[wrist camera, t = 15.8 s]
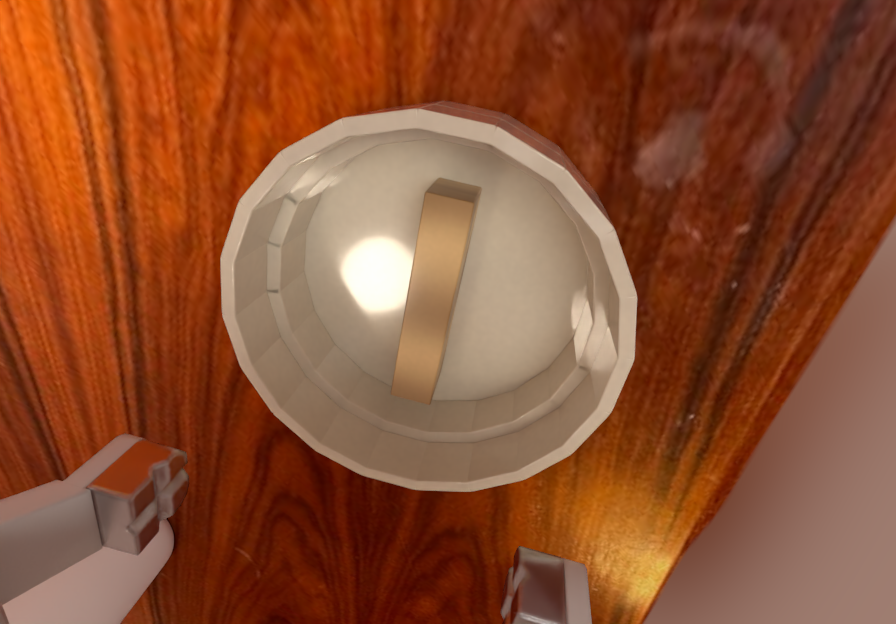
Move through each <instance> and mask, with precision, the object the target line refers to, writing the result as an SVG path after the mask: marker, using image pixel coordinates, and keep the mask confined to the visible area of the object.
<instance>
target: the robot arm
mask: <svg viewBox="0 0 896 624" xmlns="http://www.w3.org/2000/svg"><path fill="white" fill-rule="evenodd" d="M187 463H188V462H187V454H186V452H184V451H181V450H178V449H175V448H172V447H169V446H166V445H162V444H159V443H156V442H153V441H150V440H147V439H143V438H140V437H136V436H133V435H130V434H126V433H125V434H122V435H119V436H117V437H116V438H115V439H113V440H112V441H111V442H110V443H108V444H107V445H106V446H105V447H104V448H102V449H101V450H100V451H99V452H98V453H96V454H95V455H94V456H93V457H92V458H90V459H89V460H88V461H87V462H86V463H84V464H83V465H82V466H81V467H80V468H78V469H77V470H76V471H75V472H74V473H72V474H71V475H70V476H69V477H68V478H66V479H65V480H64V481H59V480H55V481H52V482H50V483H47V484H44V485H41V486H38V487H36V488H33V489H30V490H27V491H24V492H22V493H19V494H16V495H13V496H11V497H8V498H5V499H2V500H0V624H9V621H8V619H7V616H6V614H5V611H4V609H3V606H2V605H3V604H5V603H7V602H9V601H11V600H12V599H14V598H16V597H18V596H19V595H21V594H23V593H25V592H26V591H28V590H30V589H32V588H34V587H35V586H37V585H39V584H41V583H42V582H44V581H46V580H48V579H49V578H51V577H53V576H55V575H57V574H58V573H60V572H62V571H64V570H65V569H67V568H69V567H71V566H72V565H74V564H76V563H78V562H80V561H81V560H83V559H85V558H87V557H88V556H90V555H92V554H94V553H95V552H97V551H99V550H101V549H102V548H103V547H102V546H104V547H108V548H111V549H115V550H119V551H122V552H126V553H130V554H133V555H137V556H138V555H139V554H140V553H141V552H142V551H143V550H144V548H145V547H146V546H147V545H148V544H149V543H150V541H151V540H152V539H153V538H154V537H155V536H156V534H157V533H158V532H159V525H160V521H162V520H164V519H166V518H168V517H170V516H172V515H173V514H174V513H175V512H176V511H177V509H178V508H179V507H180V506H181V504H182V502H183V500H184V498H185V496H186V494H187V491H188V487H189V476H188V474H187V473H186V472H185V470H184V469H183V467H184V466H185V465H186V464H187ZM500 613H501V615H502V616H503V618H504V621H503V624H592V620H591V610H590V599H589V589H588V578H587V569H586V567H585V565H584V564H581V563H578V562H574V561H571V560H567V559H564V558H561V557H559V556H555V555H551V554H547V553H544V552H540V551H536V550H533V549H529V548H525V547H521V546H519V547H518V548H517V550H516V552H515V555H514V564H513V567H512V568H509V571H508V574H507V576H506V580H505V584H504V588H503V594H502V601H501V612H500Z"/></svg>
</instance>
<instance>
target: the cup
mask: <svg viewBox="0 0 896 624" xmlns="http://www.w3.org/2000/svg"><path fill="white" fill-rule="evenodd" d="M102 547H103V548H102V549H101V550H99V551H97V552H95V553H94V554H92V555H90V556H88V557H87V558H85V559H83V560H81V561H80V562H78V563H76V564H74V565H72V566H71V567H69V568H67V569H65V570H64V571H62V572H60V573H58V574H57V575H55V576H53V577H51V578H49V579H48V580H46V581H44V582H42V583H41V584H39V585H37V586H35V587H34V588H32V589H30V590H28V591H26V592H25V593H23V594H21V595H19V596H18V597H16V598H14V599H12V600H11V601H9V602H7V603H5V604H3V605H2V606H3V609H4V611H5V614H6V616H7V619H8V621H9V624H120V623H121V622H122V620H123V619H124V618H125V616H126V615H127V614H128V612H129V611H130V610H131V608H132V607H133V606H134V604H135V603H136V602H137V600H138V599H139V598H140V597H141V595H142V594H143V593H144V591H145V590H146V589H147V587H148V586H149V585H150V583H151V582H152V581H153V579H154V578H155V577H156V575H157V574H158V573H159V571H160V570H161V569H162V567H163V566H164V565H165V563H166V562H167V560H168V559H169V557H170V555H171V553H172V550H173V547H174V534H173V530H172V528H171V526H170V524H169V522H168V521H167V519H164V520H162V521H160V525H159V532H158V533H157V534H156V536H155V537H154V538H153V539H152V540H151V541H150V543H149V544H148V545H147V546H146V547H145V548H144V550H143V551H142V552H141V553H140V554H139V555H138V556H137V555H133V554H130V553H126V552H122V551H119V550H115V549H111V548H108V547H104V546H102Z"/></svg>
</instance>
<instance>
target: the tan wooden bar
mask: <svg viewBox="0 0 896 624" xmlns="http://www.w3.org/2000/svg"><path fill="white" fill-rule="evenodd" d="M481 192H482V188H481V187H478V186H474V185H470V184H465V183H461V182H457V181H453V180H448V179H444V178H438V179H437V180H436V181H435V182H434V183H433V184H432V185H431V186H430V187H429V188H428V190H427V191H426V192H425V194H424V200H423V206H422V212H421V218H420V224H419V229H418V235H417V241H416V247H415V253H414V259H413V265H412V270H411V276H410V282H409V288H408V294H407V300H406V305H405V311H404V317H403V323H402V329H401V335H400V341H399V346H398V352H397V358H396V364H395V370H394V376H393V381H392V387H391V395H393V396H397V397H401V398H404V399H408V400H412V401H416V402H420V403H423V404H427V405H430V404H431V401H432V398H433V395H434V392H435V389H436V385H437V382H438V379H439V376H440V373H441V369H442V365H443V360H444V356H445V352H446V347H447V343H448V338H449V334H450V329H451V325H452V320H453V316H454V312H455V307H456V303H457V298H458V294H459V289H460V285H461V281H462V276H463V272H464V267H465V263H466V258H467V254H468V250H469V245H470V241H471V236H472V232H473V227H474V223H475V218H476V214H477V210H478V205H479V201H480V196H481Z"/></svg>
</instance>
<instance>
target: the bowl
mask: <svg viewBox="0 0 896 624" xmlns="http://www.w3.org/2000/svg"><path fill="white" fill-rule="evenodd" d="M438 178H444V179H448V180H453V181H457V182H461V183H465V184H470V185H474V186H478V187H481V188H482V192H481V196H480V201H479V205H478V210H477V214H476V218H475V223H474V227H473V232H472V236H471V241H470V245H469V250H468V254H467V258H466V263H465V267H464V272H463V276H462V281H461V285H460V289H459V294H458V298H457V303H456V307H455V312H454V316H453V320H452V325H451V329H450V334H449V338H448V343H447V347H446V352H445V356H444V360H443V365H442V369H441V373H440V376H439V379H438V382H437V385H436V389H435V392H434V395H433V398H432V401H431V404H430V405H427V404H423V403H420V402H416V401H412V400H408V399H404V398H401V397H397V396H393V395H391V387H392V381H393V376H394V370H395V364H396V358H397V352H398V346H399V341H400V335H401V329H402V323H403V317H404V311H405V305H406V300H407V294H408V288H409V282H410V276H411V270H412V265H413V259H414V253H415V247H416V241H417V235H418V229H419V224H420V218H421V212H422V206H423V200H424V194H425V192H426V191H427V190H428V188H429V187H430V186H431V185H432V184H433V183H434V182H435V181H436V180H437V179H438ZM220 270H221V301H222V314H223V315H222V317H223V320H224V322H225V325H226V328H227V331H228V334H229V337H230V339H231V342H232V345H233V348H234V351H235V354H236V356H237V359H238V362H239V365H240V367H241V369H242V371H243V372H244V373H245V375H246V376H247V378H248V379H249V381H250V382H251V383H252V385H253V386H254V388H255V389H256V391H257V392H258V393H259V395H260V396H261V398H262V399H263V401H264V402H265V403H266V405H267V406H268V408H269V409H270V411H271V412H272V413H273V414H274V415H275V416H276V417H277V418H278V419H279V420H280V421H282V422H283V423H284V424H285V425H286V426H287V427H289V428H290V429H291V430H292V431H293V432H294V433H295V434H297V435H298V436H299V437H300V438H301V439H302V440H303V441H305V442H306V443H307V444H308V445H309V446H310V447H311V448H313V449H315V451H317V452H318V453H320V454H322V455H324V456H326V457H328V458H330V459H332V460H334V461H335V462H337V463H339V464H341V465H343V466H345V467H347V468H349V469H350V470H352V471H354V472H356V473H358V474H360V475H362V476H363V475H364V476H365V477H369V478H373V479H376V480H380V481H384V482H387V483H391V484H395V485H398V486H402V487H406V488H410V489H413V490H425V491H456V492H470V491H471V492H473V491H477V490H482V489H486V488H491V487H495V486H500V485H504V484H509V483H514V482H518V481H522V480H525V479H527V478H529V477H531V476H533V475H535V474H536V473H538V472H540V471H542V470H544V469H546V468H548V467H549V466H551V465H553V464H555V463H557V462H559V461H561V460H562V459H564V458H566V457H568V456H570V455H571V454H572V453H574V452H575V450H576V449H577V448H578V447H579V446H580V445H581V444H582V443H583V442H584V441H585V440H586V439H587V438H588V437H589V436H590V435H591V434H592V433H593V432H594V431H595V430H596V428H597V427H598V426H599V425H600V424H601V423H602V422H603V421H604V420H605V419H606V418H607V417H608V416H609V415H610V413H611V412H612V410H613V408H614V405H615V403H616V401H617V399H618V396H619V394H620V392H621V389H622V387H623V385H624V383H625V380H626V378H627V376H628V373H629V371H630V369H631V367H632V364H633V362H634V358H635V340H636V317H637V293H636V290H635V287H634V284H633V281H632V278H631V275H630V272H629V269H628V266H627V263H626V260H625V257H624V254H623V251H622V248H621V245H620V242H619V240H618V237H617V234H616V231H615V229H614V227H613V225H612V223H611V221H610V219H609V217H608V215H607V213H606V211H605V209H604V207H603V205H602V203H601V201H600V199H599V197H598V195H597V193H596V192H595V190H594V189H593V188H592V187H591V185H590V184H589V183H588V182H587V180H586V179H585V178H584V177H583V176H582V174H581V173H580V172H579V171H578V169H577V168H576V167H575V166H574V164H573V163H572V162H571V161H570V159H569V158H568V157H567V156H566V154H565V153H564V152H563V151H562V149H561V148H559V147H558V145H556V144H554V143H553V142H551V141H550V140H548V139H546V138H545V137H543V136H541V135H540V134H538V133H537V132H535V131H533V130H532V129H530V128H529V127H527V126H525V125H524V124H522V123H520V122H519V121H517V120H516V119H514V118H512V117H511V116H509V115H508V114H505V113H501V112H496V111H492V110H487V109H483V108H478V107H474V106H469V105H464V104H460V103H455V102H451V101H436V102H428V103H421V104H413V105H406V106H398V107H390V108H385V109H380V110H376V111H371V112H366V113H362V114H357V115H353V116H348V117H344V118H341V119H338V120H336V121H335V122H333V123H331V124H329V125H327V126H325V127H323V128H322V129H320V130H318V131H316V132H314V133H312V134H310V135H309V136H307V137H305V138H303V139H301V140H299V141H298V142H296V143H294V144H292V145H290V146H288V147H286V148H285V149H283V150H281V152H279V153H278V154H277V155H276V156H275V157H274V159H273V160H272V161H271V162H270V163H269V165H268V166H267V167H266V168H265V169H264V171H263V172H262V173H261V174H260V175H259V177H258V178H257V179H256V180H255V182H254V183H253V184H252V185H251V186H250V188H249V189H248V190H247V191H246V192H245V194H244V195H243V196H242V197H241V198H240V200H239V202H238V204H237V208H236V211H235V214H234V217H233V220H232V223H231V226H230V229H229V232H228V235H227V238H226V241H225V244H224V247H223V250H222V253H221V258H220Z"/></svg>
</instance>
